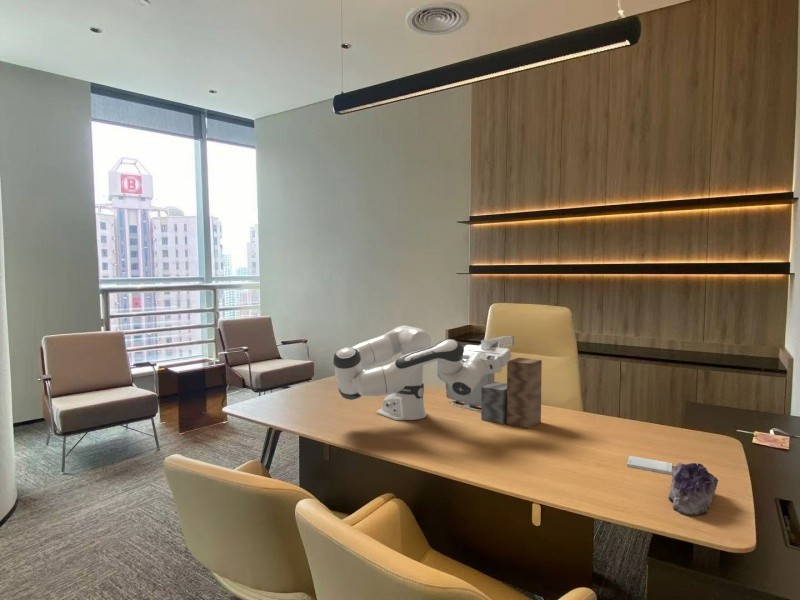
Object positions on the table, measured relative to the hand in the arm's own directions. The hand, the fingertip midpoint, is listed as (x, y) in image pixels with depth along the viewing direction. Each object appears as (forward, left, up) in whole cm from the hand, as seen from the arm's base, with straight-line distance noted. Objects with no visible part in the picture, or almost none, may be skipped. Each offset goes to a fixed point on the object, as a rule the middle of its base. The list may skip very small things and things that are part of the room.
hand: (493, 342), depth 196 cm
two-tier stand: (+5, +7, -33) cm, 34 cm away
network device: (-21, +16, -33) cm, 42 cm away
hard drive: (+61, -10, -34) cm, 70 cm away
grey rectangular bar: (0, +4, -2) cm, 5 cm away
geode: (+75, -29, -34) cm, 87 cm away
